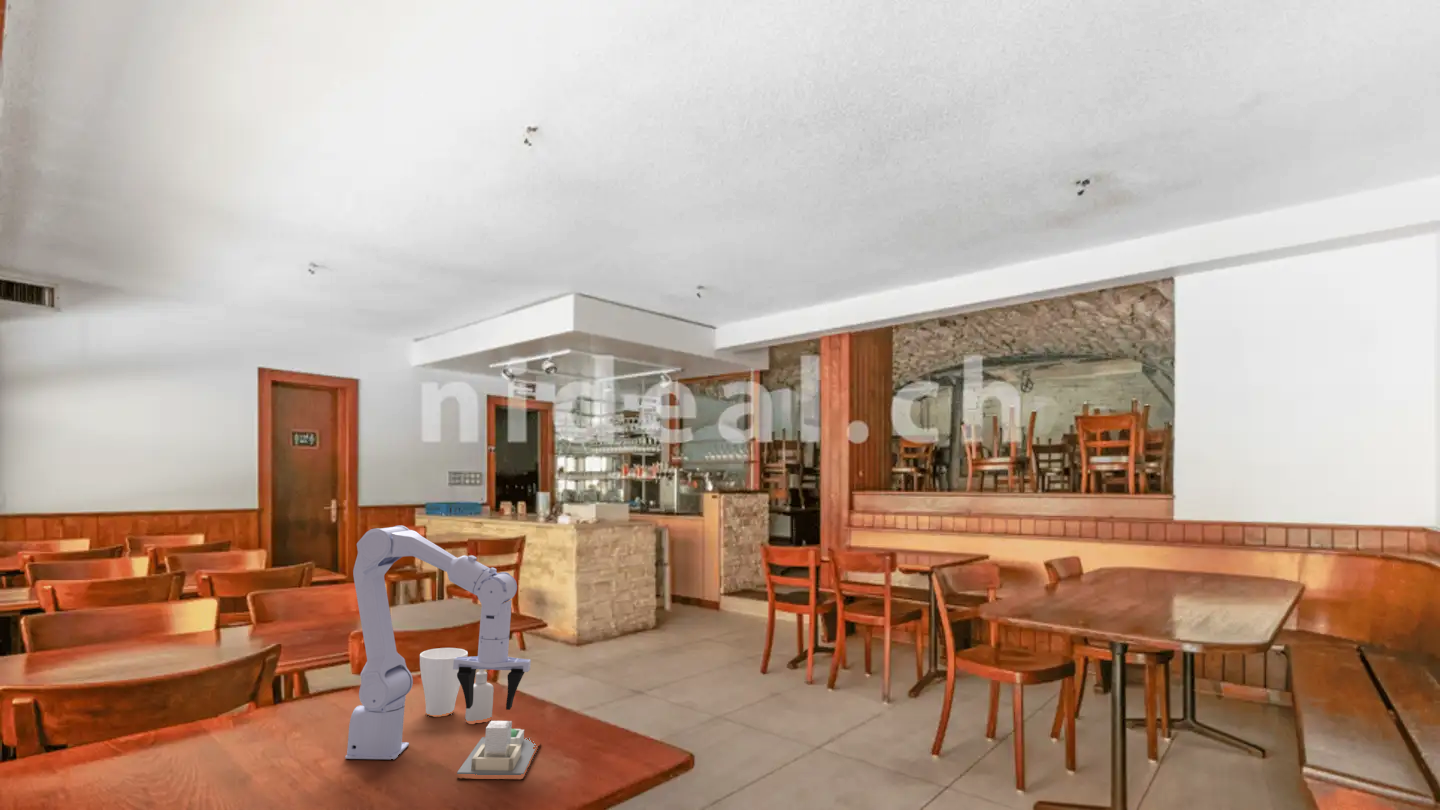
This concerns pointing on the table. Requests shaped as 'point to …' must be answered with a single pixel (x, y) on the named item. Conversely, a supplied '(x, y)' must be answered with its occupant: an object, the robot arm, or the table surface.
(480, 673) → the eye dropper bottle
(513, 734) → the button
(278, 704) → the table surface
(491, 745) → the block
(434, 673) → the cup
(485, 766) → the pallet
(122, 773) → the table surface
